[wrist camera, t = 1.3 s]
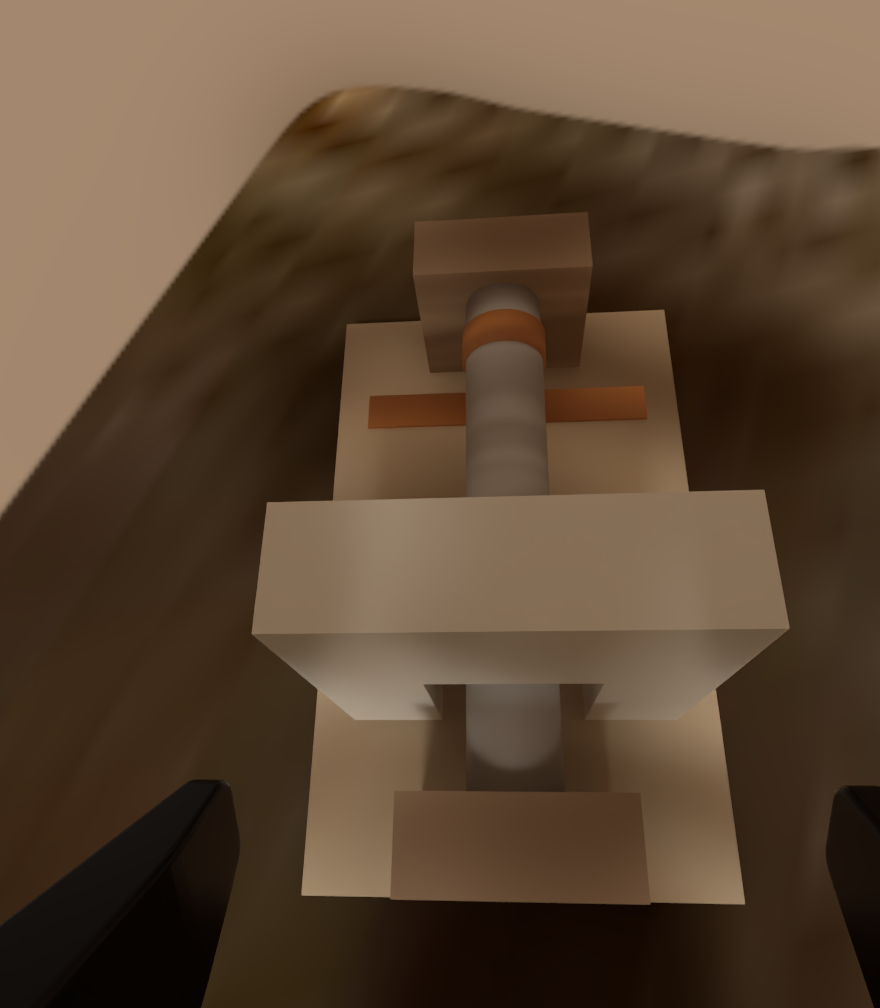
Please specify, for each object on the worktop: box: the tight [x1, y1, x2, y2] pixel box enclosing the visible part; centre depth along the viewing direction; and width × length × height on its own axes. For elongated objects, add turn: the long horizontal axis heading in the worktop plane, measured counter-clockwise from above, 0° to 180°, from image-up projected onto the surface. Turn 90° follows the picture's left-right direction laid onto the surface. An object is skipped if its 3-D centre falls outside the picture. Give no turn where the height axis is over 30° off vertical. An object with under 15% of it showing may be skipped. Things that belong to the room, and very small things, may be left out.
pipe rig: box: [302, 212, 745, 905], centre depth 21 cm, size 18×11×6 cm, turn 179°
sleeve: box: [252, 490, 790, 720], centre depth 17 cm, size 3×9×9 cm, turn 89°
